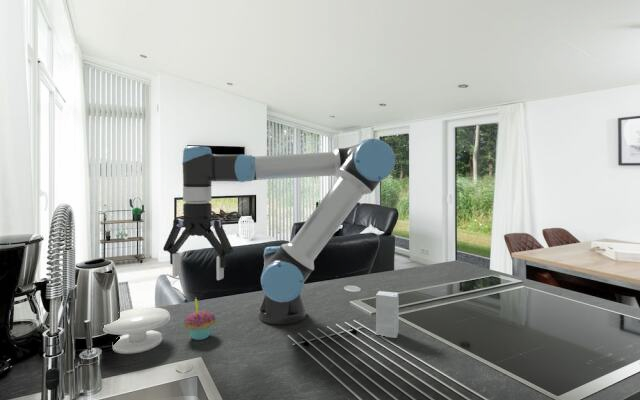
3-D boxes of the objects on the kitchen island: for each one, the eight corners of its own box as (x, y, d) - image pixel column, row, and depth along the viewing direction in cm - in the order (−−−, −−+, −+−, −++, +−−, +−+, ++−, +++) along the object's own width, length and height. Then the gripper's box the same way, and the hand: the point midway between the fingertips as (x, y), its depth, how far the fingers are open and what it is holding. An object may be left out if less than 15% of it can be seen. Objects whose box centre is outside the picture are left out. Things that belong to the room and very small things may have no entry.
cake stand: (182, 333, 107) (182, 309, 107) (143, 361, 91) (143, 332, 91) (133, 328, 111) (132, 305, 110) (87, 354, 95) (86, 326, 94)
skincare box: (398, 332, 108) (399, 292, 107) (396, 338, 104) (397, 296, 103) (377, 330, 110) (378, 290, 109) (375, 335, 106) (375, 294, 105)
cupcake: (206, 344, 101) (205, 300, 100) (178, 341, 102) (177, 298, 102) (220, 331, 109) (220, 291, 108) (194, 329, 111) (193, 289, 110)
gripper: (244, 202, 104) (244, 276, 106) (166, 200, 110) (167, 271, 111) (232, 204, 97) (233, 284, 98) (149, 202, 103) (150, 277, 104)
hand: (198, 277), depth 105 cm, fingers open, 13 cm apart
